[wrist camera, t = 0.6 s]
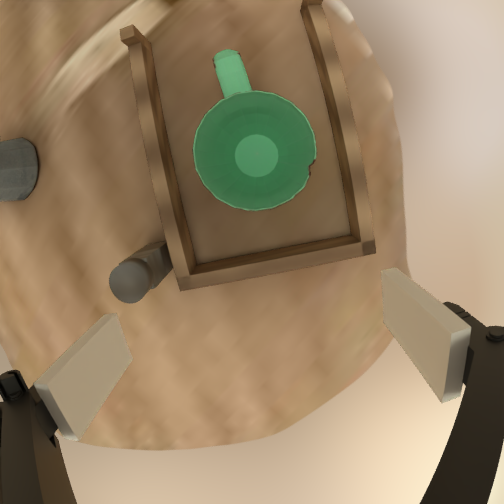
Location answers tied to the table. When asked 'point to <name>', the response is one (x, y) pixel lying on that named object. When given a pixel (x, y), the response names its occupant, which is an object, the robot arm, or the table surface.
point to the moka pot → (17, 169)
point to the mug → (252, 143)
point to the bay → (169, 201)
